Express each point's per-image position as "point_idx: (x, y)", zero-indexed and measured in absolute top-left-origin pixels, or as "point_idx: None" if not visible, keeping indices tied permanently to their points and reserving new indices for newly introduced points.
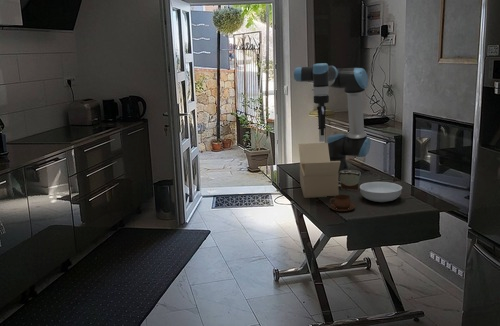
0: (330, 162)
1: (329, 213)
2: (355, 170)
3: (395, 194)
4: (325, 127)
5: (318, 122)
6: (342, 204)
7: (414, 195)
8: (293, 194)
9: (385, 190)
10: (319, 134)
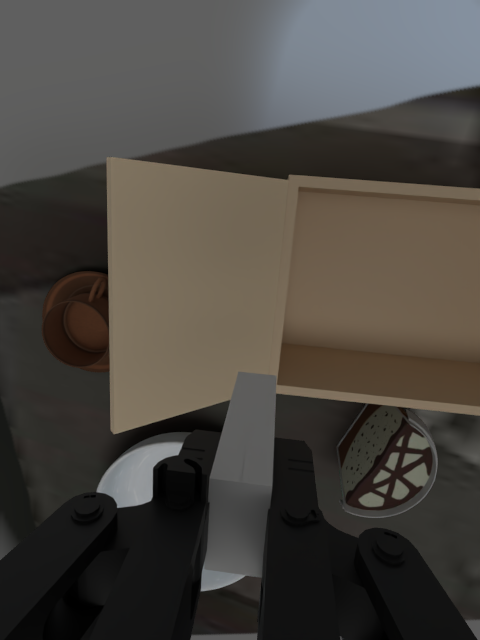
0: (112, 361)
1: (48, 255)
2: (408, 506)
3: None
4: (258, 611)
5: (444, 623)
6: (54, 320)
7: (218, 597)
8: (361, 132)
9: None
10: (230, 419)
